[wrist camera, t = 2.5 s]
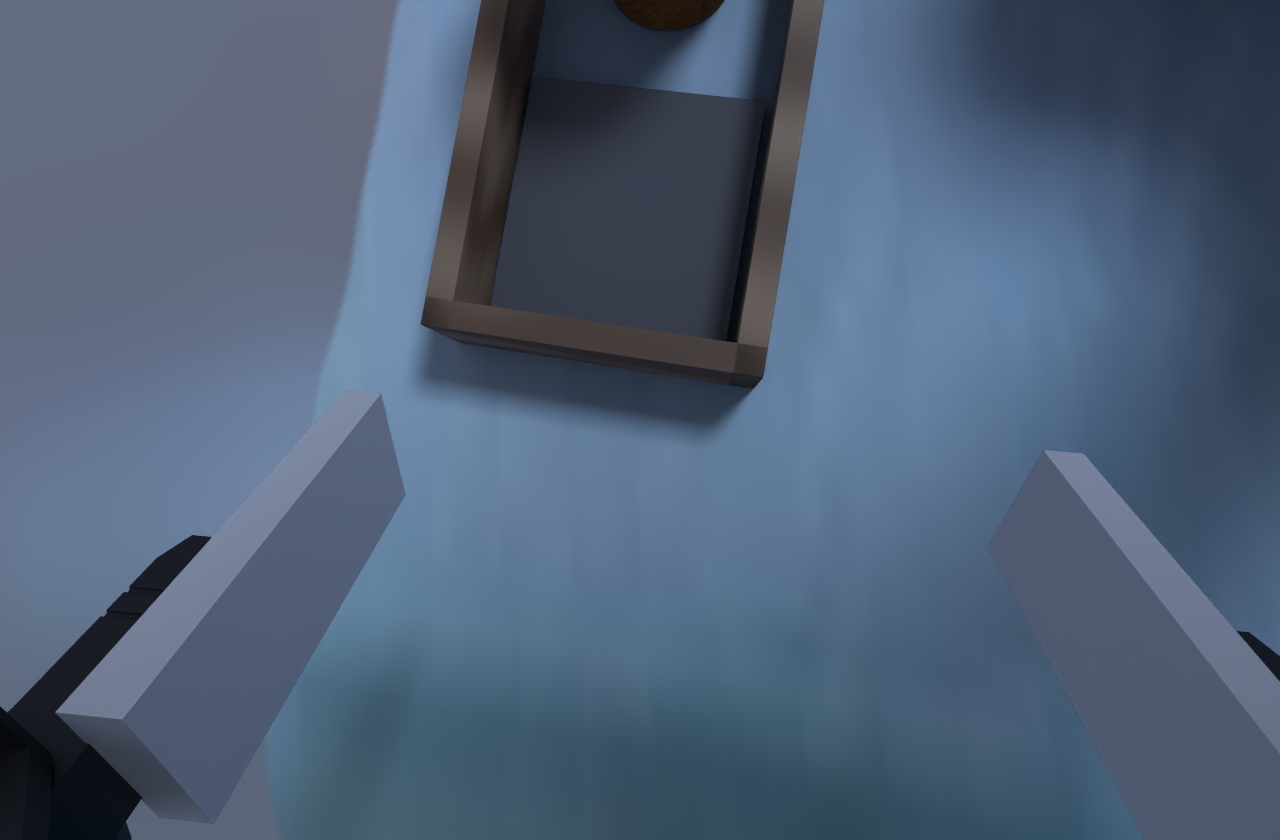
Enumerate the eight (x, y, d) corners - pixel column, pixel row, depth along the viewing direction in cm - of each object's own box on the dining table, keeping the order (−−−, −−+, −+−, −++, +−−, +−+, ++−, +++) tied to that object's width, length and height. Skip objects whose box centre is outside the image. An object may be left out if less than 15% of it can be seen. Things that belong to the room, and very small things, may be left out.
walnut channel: (550, -155, 30) (527, -248, 26) (839, -137, 28) (862, -233, 24) (459, 342, 29) (420, 324, 25) (753, 388, 27) (763, 377, 23)
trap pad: (537, 87, 29) (532, 76, 29) (763, 111, 28) (765, 101, 27) (495, 316, 29) (489, 312, 28) (724, 350, 28) (725, 347, 27)
